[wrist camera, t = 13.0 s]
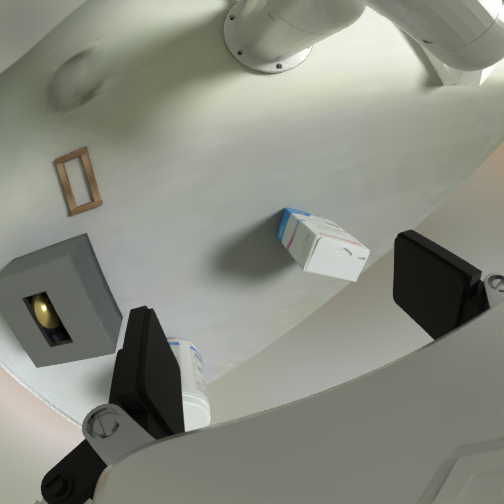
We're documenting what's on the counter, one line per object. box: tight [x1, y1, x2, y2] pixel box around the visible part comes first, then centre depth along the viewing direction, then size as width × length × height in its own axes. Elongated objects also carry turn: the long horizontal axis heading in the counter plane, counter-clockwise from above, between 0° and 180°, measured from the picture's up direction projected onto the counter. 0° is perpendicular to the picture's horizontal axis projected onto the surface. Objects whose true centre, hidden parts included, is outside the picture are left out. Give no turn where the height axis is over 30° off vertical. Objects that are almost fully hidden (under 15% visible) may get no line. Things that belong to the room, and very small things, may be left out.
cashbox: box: [0, 233, 123, 368], centre depth 38 cm, size 15×15×9 cm
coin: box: [28, 291, 62, 329], centre depth 38 cm, size 3×6×6 cm
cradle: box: [55, 147, 103, 216], centre depth 37 cm, size 8×5×1 cm, turn 11°
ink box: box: [277, 208, 370, 282], centre depth 42 cm, size 9×5×12 cm, turn 72°
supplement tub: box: [167, 338, 210, 432], centre depth 45 cm, size 10×10×15 cm
